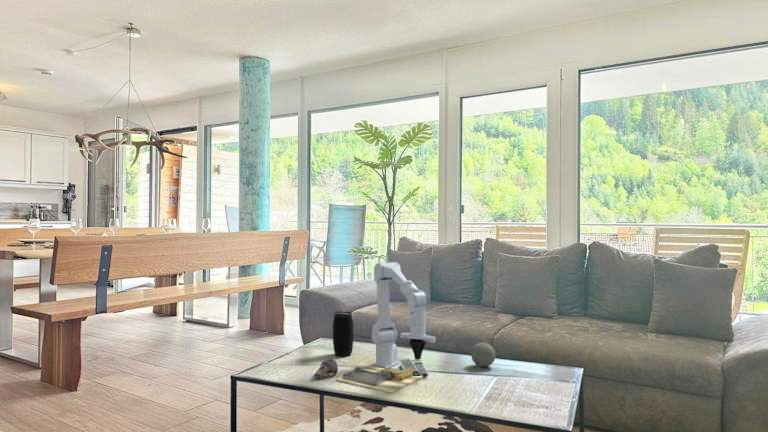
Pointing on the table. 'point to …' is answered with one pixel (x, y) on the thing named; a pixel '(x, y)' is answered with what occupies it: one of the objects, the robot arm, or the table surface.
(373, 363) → the robot arm
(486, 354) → the decorative ball
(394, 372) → the loose leaf
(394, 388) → the board
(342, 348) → the portable speaker
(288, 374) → the table surface
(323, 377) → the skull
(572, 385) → the table surface
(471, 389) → the table surface
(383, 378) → the fixed leaf
